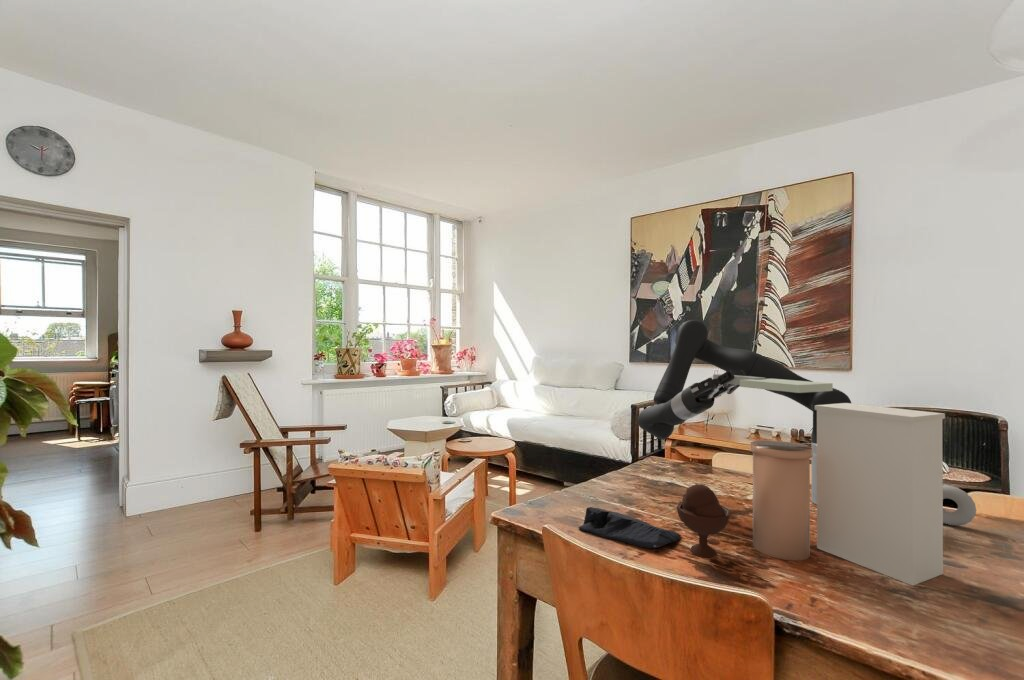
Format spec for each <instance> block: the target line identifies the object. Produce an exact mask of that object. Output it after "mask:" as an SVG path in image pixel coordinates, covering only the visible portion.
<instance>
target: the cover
mask: <svg viewBox="0 0 1024 680" xmlns="http://www.w3.org/2000/svg"><path fill="white" fill-rule="evenodd" d="M722 374H723V373H720V374H718V373H717V374H712V376H713V377H712V379H713V378H715V377H717V376H718V377H719V376H720V375H722ZM726 384H734V385H740V386H739V387H740V388H749V389H758V390H765V389H766V390H765V391H767V390H776V391H785V392H795V393H805V392H822V391H833V388H834V387H833V386H834V385H833V383H831V382H820V381H813V382H809V381H796V380H784V379H765V378H764V377H752V376H739V375H734V379H732V380H731V381H729V382H727V383H726Z"/></svg>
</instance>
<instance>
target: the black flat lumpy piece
mask: <svg viewBox="0 0 1024 680" xmlns="http://www.w3.org/2000/svg"><path fill="white" fill-rule="evenodd" d="M583 520H584V521H583V524H581V526H579V527H578V529H579V530H580V531H582V532H588V533H591V534H593V535H596V536H598V537H603V538H607V539H608V540H609V539H610V540H616V541H619V542H622V543H625V544H630V545H634V546H636V547H641V548H646V549H647V548H648V549H652V550H653V549H657V548H659V547H663V546H665V545H668V544H670V543H674V542H676V541H679V540H680V539H681V537H682V535H681V534H680V533H678V532H676V531H673V530H670V529H665V528H662V527H659V526H655V525H653V524H650V523H648V522H647V521H643V520H640V519H638V518H635V517H631V516H629V515H626V514H623V513H620V512H616V511H611V510H606V509H604V508H599V507H592V506H590V507H587V508H586V509H585V516H584V519H583Z"/></svg>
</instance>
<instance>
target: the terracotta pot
mask: <svg viewBox="0 0 1024 680" xmlns="http://www.w3.org/2000/svg"><path fill="white" fill-rule="evenodd" d="M749 445H750V449H749V450H750V451H751V452H752V546H753V548H754V549H755V550H757V551H758V552H760V553H762V554H763V555H766V556H769V557H772V558H776V559H779V560H785V561H805V560H807V559H809V558H810V556H811V545H810V543H811V541H810V540H811V539H810V537H811V533H810V531H811V527H810V526H811V525H810V524H811V523H810V522H811V520H810V519H811V518H810V517H811V512H810V511H811V510H810V509H811V508H810V507H811V506H810V505H811V501H810V500H811V497H810V496H811V494H810V493H811V492H810V490H811V489H810V488H811V487H810V485H811V483H810V474H811V470H810V469H811V468H810V467H811V466H810V463H811V461H810V460H811V457H812V448H811V447H810V446H809V445H806V444H801V443H797V442H790V441H782V440H781V441H780V440H765V439H764V440H755V441H751V442H750V444H749Z"/></svg>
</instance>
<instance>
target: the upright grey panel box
mask: <svg viewBox="0 0 1024 680" xmlns="http://www.w3.org/2000/svg"><path fill="white" fill-rule="evenodd" d="M851 403H852V402H851ZM851 403H839V404H826V405H815V410H817V505H816V548H817V549H818V550H821V551H823V552H825V553H828V554H831V555H834V556H835V557H839V558H840V559H844V560H847V561H849V562H852V563H854V564H856V565H859V566H861V567H863V568H867V569H869V570H872V571H874V572H877V573H879V574H881V575H885V576H887V577H888V578H889V577H890V578H891V579H895V580H897V581H900V582H903V583H905V584H908V585H910V586H915V585H918V584H922V583H924V582H926V581H928V580H931V579H934V578H936V577H939V576H942V575H944V527H943V526H944V523H943V509H944V507H943V505H944V504H943V502H944V499H943V485H944V483H943V481H944V480H943V479H944V478H943V477H944V476H943V475H944V474H943V471H944V470H943V465H944V464H943V463H944V462H943V455H944V454H943V420H944V419H946V413H943V412H933V411H924V410H914V409H905V408H897V407H896V408H895V407H886V406H879V405H870V404H869V405H868V404H859V403H852V404H851Z"/></svg>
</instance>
